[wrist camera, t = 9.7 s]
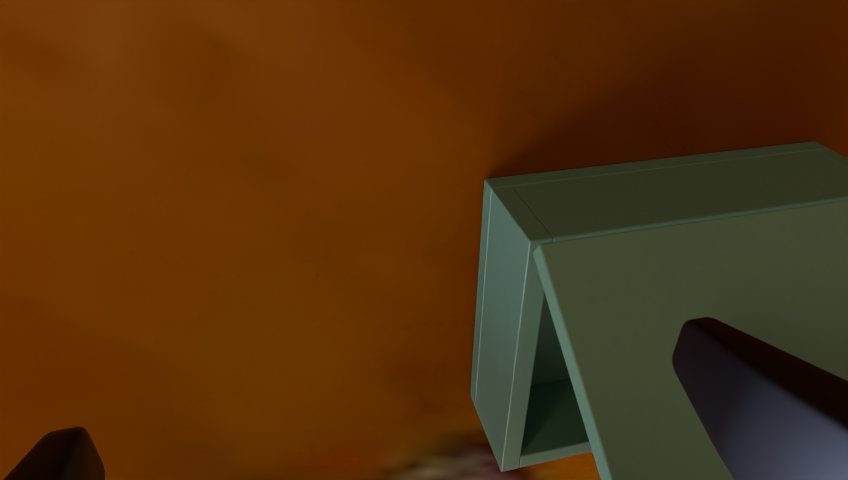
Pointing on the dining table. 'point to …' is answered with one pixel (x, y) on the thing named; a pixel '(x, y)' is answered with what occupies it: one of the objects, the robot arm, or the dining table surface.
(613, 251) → the box lid
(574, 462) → the dining table surface
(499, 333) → the keepsake box
